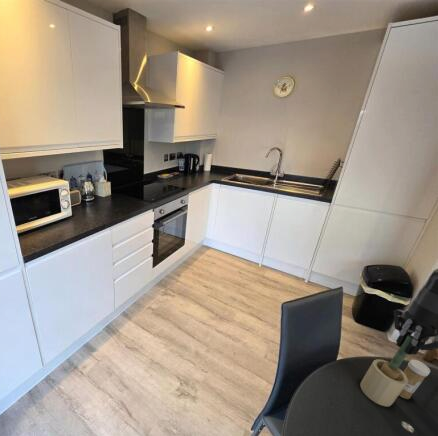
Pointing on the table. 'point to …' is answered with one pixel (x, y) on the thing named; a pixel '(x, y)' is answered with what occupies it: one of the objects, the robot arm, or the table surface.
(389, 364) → the brush
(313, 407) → the table surface
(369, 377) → the jar
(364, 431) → the table surface
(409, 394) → the sprinkles bottle
